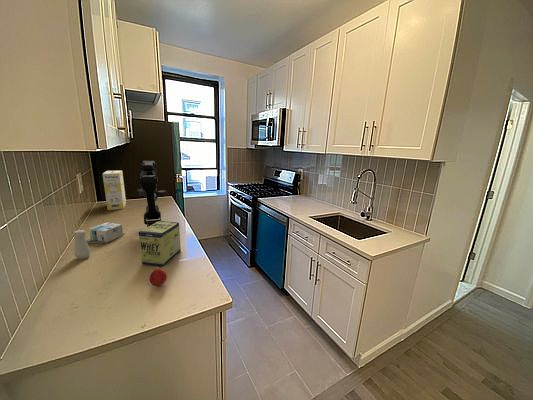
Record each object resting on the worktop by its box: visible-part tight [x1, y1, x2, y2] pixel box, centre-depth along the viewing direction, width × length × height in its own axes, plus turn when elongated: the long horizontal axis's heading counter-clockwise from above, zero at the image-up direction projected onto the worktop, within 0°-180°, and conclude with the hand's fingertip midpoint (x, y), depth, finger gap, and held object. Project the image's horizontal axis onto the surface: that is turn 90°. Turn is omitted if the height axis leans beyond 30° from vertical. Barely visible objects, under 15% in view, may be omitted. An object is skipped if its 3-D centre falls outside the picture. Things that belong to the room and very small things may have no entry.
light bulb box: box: [88, 221, 124, 243], centre depth 123 cm, size 11×7×11 cm
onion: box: [149, 266, 168, 288], centre depth 83 cm, size 6×6×8 cm
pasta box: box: [102, 170, 127, 211], centre depth 179 cm, size 18×10×28 cm, turn 26°
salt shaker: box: [72, 229, 91, 261], centre depth 101 cm, size 6×6×13 cm
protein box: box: [137, 220, 182, 268], centre depth 103 cm, size 10×16×16 cm
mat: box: [86, 232, 125, 245], centre depth 124 cm, size 12×14×1 cm
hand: (152, 206), depth 141 cm, fingers closed
